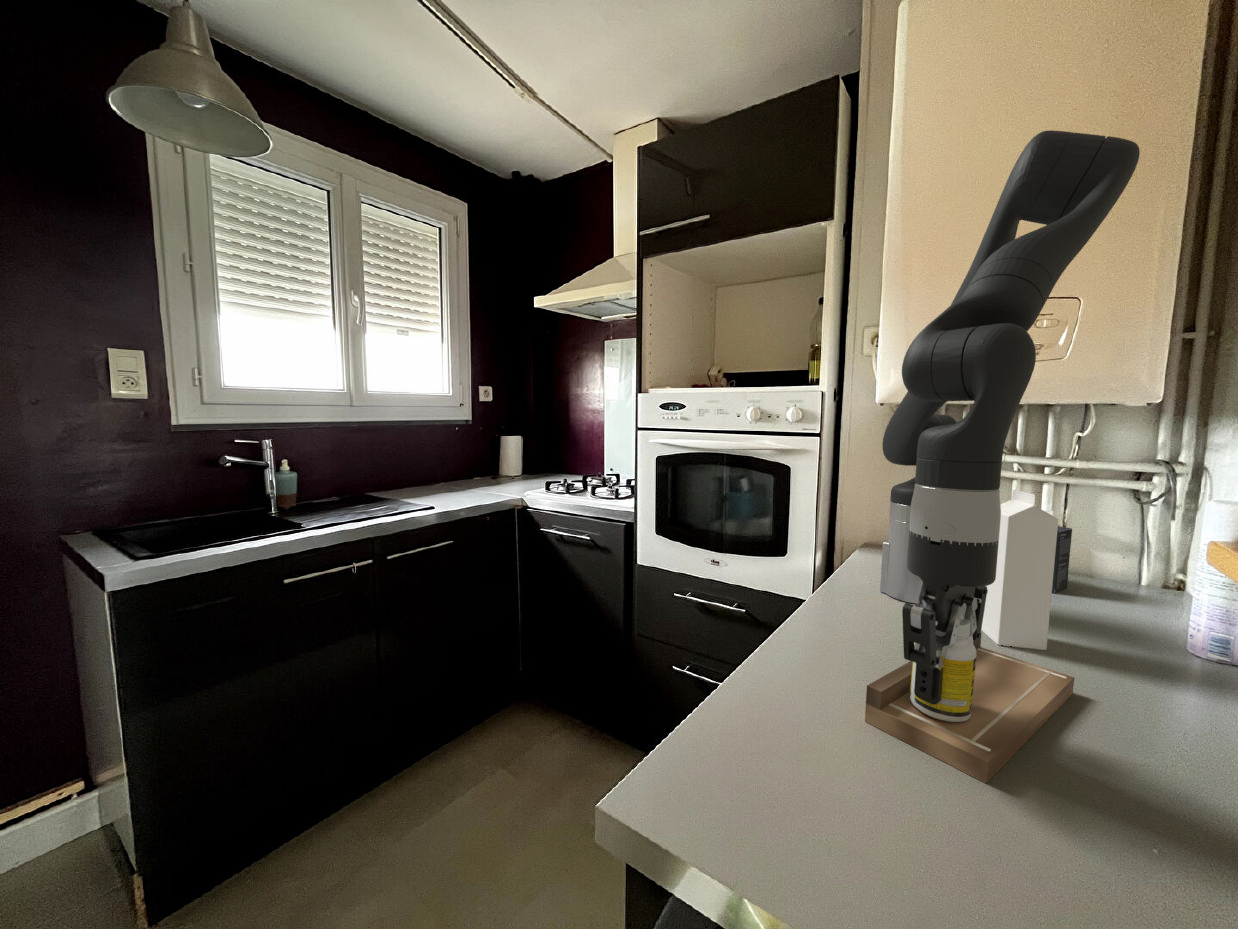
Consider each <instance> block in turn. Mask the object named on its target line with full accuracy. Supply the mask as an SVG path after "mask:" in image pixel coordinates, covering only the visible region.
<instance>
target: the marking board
mask: <svg viewBox="0 0 1238 929" xmlns="http://www.w3.org/2000/svg"><path fill="white" fill-rule="evenodd" d="M982 632H983V631H981V635H982V634H983V633H982ZM981 644H982V636H981V637H980V639H979V640H978V641H975V640H973V645H974V646H975V648H976V667H975V678H974V690H973V701H972V712H971V716H970V718H969V719H968V720H966V721H963V722H949V721H944V720H940V719H936V718H933V717H931V716H929V715H927V714H925V713H923V712H921V711H920V710H918V709H917V708H916V707H915V706H914V705H913V704H912V702H911V700H910V690H911V676H912V665H913V661H908V662H906V663H905V664H903V665H901V666H899V667H897V668H896V669H894V670H892V671H891V672H888V673H887V674H885V675H883V676H881V677H879V678H878V679H876V680H874V681H873V682H870V683H869V684H867V685H866V694H865V712H864V722H865V723H867V724H869V725H871V726H873V727H875V728H877V729H879V730H881V731H883V732H884V733H886V734H888V735H891V736H892V737H894V738H897V739H898V740H900V741H903V742H904V743H906V744H908V745H910V746H913V747H914V748H916V749H918V750H920V751H922V752H924V753H926V754H927V755H929V756H932V757H933V758H936V759H937V760H939V761H941V762H943V763H946V764H947V765H949V766H951V767H953V768H955V769H957V770H959V771H961V772H963V773H965V774H966V775H969V776H971V777H973V778H975V779H977V780H979V781H980V782H982V783H985V784H988V783H989V782H990V780H991V779H993V778H994V777H995V775H996V774H997V773H998V772H999V771H1000V770H1001V769H1002V768H1003V767H1004V766H1006V764H1007V763H1008V762H1009V761H1010V760H1011V759H1012V757H1013V756H1015V754H1016V753H1017V752H1019V750H1021V749H1022V747H1023V746H1024V745H1025V744H1026V743H1027V742H1028V741H1029V740H1030V739H1032V737H1033V736H1034V735H1035V734H1036V732H1037V731H1038V730H1039V729H1040V728H1041V727H1042V726H1043V725H1044V724H1046V723H1047V722H1048V720H1049V719H1050V718H1051V717H1052V716H1053V715H1054V713H1056V712H1057V710H1059V709H1060V707H1062V706H1063V704H1065V703H1066V702H1067V701H1068V699H1069V698H1070V697H1071V696H1072V695H1073V694H1074V687H1075V686H1074V685H1075V677H1074V676H1071V675H1068V674H1065V673H1062V672H1059V671H1056V670H1053V669H1050V668H1046V667H1044V666H1043V667H1042V666H1040V665H1037V664H1034V663H1032V662H1031V663H1030V662H1028V661H1025V660H1022V659H1019V658H1016V657H1014V656H1013V657H1012V656H1009V655H1006V654H1003V653H1000V652H998V651H994V650H991V649H989V648H985V647H982V646H981Z"/></svg>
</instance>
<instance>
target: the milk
mask: <svg viewBox="0 0 1238 929" xmlns="http://www.w3.org/2000/svg"><path fill="white" fill-rule="evenodd" d="M1011 497H1012V498H1011V499H1009V500H1007V501H1005V502H1003V503H1000V505H1001V521H1000V532H999V544H998V556H997V568H996V579H995V581H994V582H993V583H992V584H990V585H988V586H987V590H988V592H987V596H986V602H985V609H984V615H983V622H982V628H981V632H983V634H985V635H986V636H988V637H989V639H991V640H992V641H993V642H994V643H995V644H996V645H997V644H998V645H997V646H1001V645H1003V646H1002V647H1010V646H1012V648H1020V649H1021V648H1022V649H1029V650H1030V649H1031V650H1039V651H1047V648H1048V636H1049V635H1048V634H1049V624H1050V616H1051V615H1050V614H1051V605H1052V595H1053V594H1052V593H1053V592H1052V584H1053V573H1054V562H1055V551H1056V540H1057V529H1058V525H1059V518H1058V517H1056V516H1054V515H1052V514H1051V513H1048V512H1047V511H1045V510H1043V509H1042V508H1040V507H1038V506H1036V495H1035V494H1033V493H1030V492H1026V491H1022V490H1017V489H1012V495H1011Z"/></svg>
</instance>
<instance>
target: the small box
mask: <svg viewBox="0 0 1238 929" xmlns="http://www.w3.org/2000/svg"><path fill="white" fill-rule="evenodd" d="M1072 534H1073V528H1072V527H1071V528H1070V527H1066V526H1058V529H1057V540H1056V551H1055V562H1054V573H1053V584H1052V593H1054V594H1055V593H1057V592H1059V591H1063V590H1065V589H1067V588H1068V581H1069V566H1070V558H1071V549H1072V548H1071V547H1072V546H1071V545H1072V536H1073V535H1072Z"/></svg>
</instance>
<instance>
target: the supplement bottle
mask: <svg viewBox="0 0 1238 929" xmlns="http://www.w3.org/2000/svg"><path fill="white" fill-rule="evenodd" d="M945 634H946V632H941V631H938V630H936V635H938V636H944V635H945ZM969 634H970V621H969V620H968V619H965V618H964V619H963V620H962V621H960V624H959V628H958V633H957V637H956V641H955V645H954V646H953V647H951V648H948V649H947V653H946V657H945V661H944V666H943V680H942V694H941V701H940V702H939V703H937V704H935V705H934V704H931V703H929V702H926V701H924V700H922V699H919V698H918V697H916V695H915V693H914V687H915V673H916V663H915V662H913V665H912V676H911V690H910V700H911V702H912V704H913V705H914V706H915V707H916V708H917V709H918V710H920V711H921V712H923V713H925V714H927V715H929V716H931V717H933V718H936V719H940V720H944V721H949V722H963V721H966V720H968V719H969V718H970V716H971V712H972V701H973V690H974V678H975V667H976V648H975V646H974V645H973V644H972V643H971V642H970V641H969V640H967V639H966V638H968V637H969ZM914 646H915V642H914ZM936 650H937V643H936ZM924 651H925V648H924Z"/></svg>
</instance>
